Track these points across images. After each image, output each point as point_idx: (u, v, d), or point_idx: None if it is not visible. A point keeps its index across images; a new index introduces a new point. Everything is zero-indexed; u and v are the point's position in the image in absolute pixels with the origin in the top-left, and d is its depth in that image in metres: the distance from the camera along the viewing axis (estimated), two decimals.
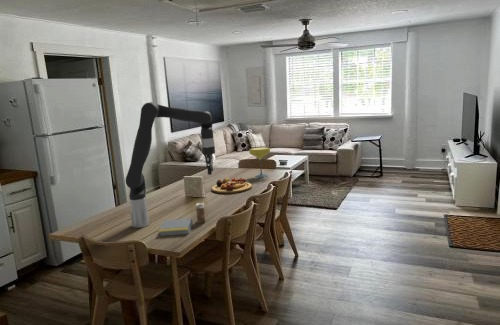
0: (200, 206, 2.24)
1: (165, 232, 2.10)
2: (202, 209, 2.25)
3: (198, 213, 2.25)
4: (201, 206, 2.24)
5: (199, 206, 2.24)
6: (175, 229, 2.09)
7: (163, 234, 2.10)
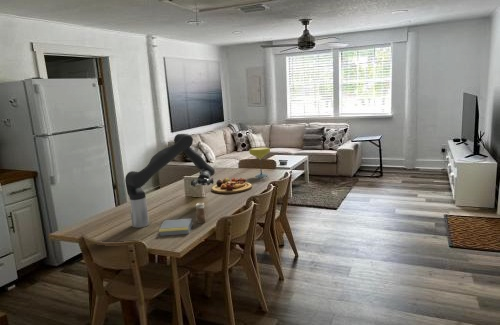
0: (200, 206, 2.24)
1: (165, 232, 2.10)
2: (202, 209, 2.24)
3: (198, 213, 2.25)
4: (201, 206, 2.24)
5: (199, 206, 2.24)
6: (175, 229, 2.09)
7: (163, 234, 2.10)
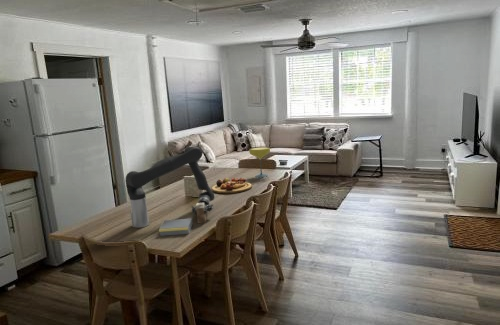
0: (200, 206, 2.24)
1: (165, 232, 2.10)
2: (202, 209, 2.24)
3: (198, 213, 2.25)
4: (201, 206, 2.24)
5: (199, 206, 2.24)
6: (175, 229, 2.09)
7: (163, 234, 2.10)
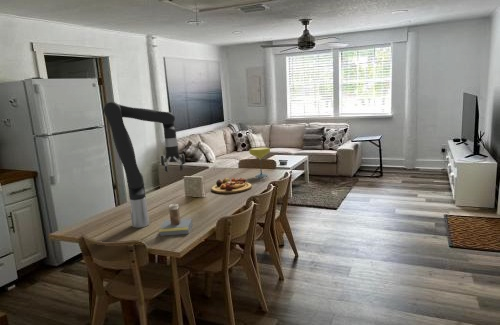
0: (173, 207, 2.12)
1: (165, 232, 2.10)
2: (176, 210, 2.12)
3: (171, 215, 2.13)
4: (174, 207, 2.12)
5: (172, 208, 2.12)
6: (175, 229, 2.09)
7: (163, 234, 2.10)
